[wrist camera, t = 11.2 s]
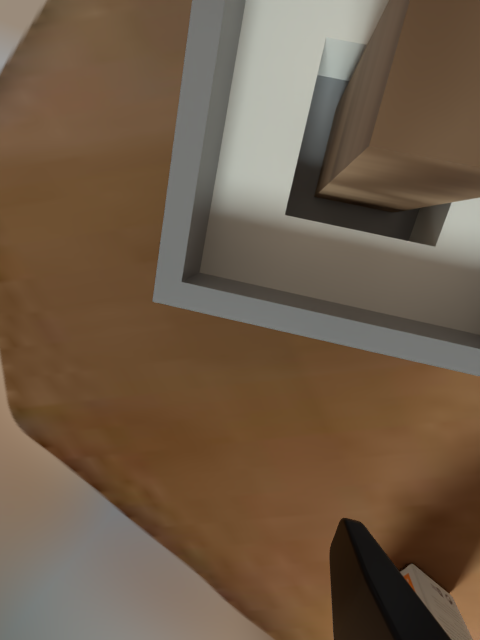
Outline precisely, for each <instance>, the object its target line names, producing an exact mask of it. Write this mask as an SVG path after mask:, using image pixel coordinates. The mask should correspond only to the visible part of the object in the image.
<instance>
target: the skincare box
mask: <svg viewBox="0 0 480 640" xmlns="http://www.w3.org/2000/svg"><path fill="white" fill-rule="evenodd" d="M400 573H401V574H402V575H403V577H404V578H405V579H406V581H407V582H408V583H409V585H410V586H411V587H412V588H413V590H414V591H415V592H416V594H417V595H418V596H419V598H420V599H421V600H422V602H423V603H424V604H425V605H426V607H427V608H428V609H429V611H430V612H431V613H432V615H433V616H434V617H435V619H436V620H437V621H438V622H439V624H440V625H441V626H442V628H443V629H444V630H445V632H446V633H447V634H448V635H449V637H450V638H451V639H452V640H473V639H472V637H471V635H470V633H469V631H468V629H467V627H466V624H465V622H464V620H463V618H462V616H461V614H460V612H459V610H458V608H457V606H456V603H455V601H454V599H453V597H452V596H451V595H450V594H449V593H448V592H446V591H445V590H444V589H443V588H442V587H440V586H439V585H438V584H437V583H435V582H434V581H433V580H432V579H431V578H429V577H428V576H427V575H426V574H425V573H423V572H422V571H421V570H420V569H419V568H417V567H416V566H415V565H414V564H410V565H409V566H407V567H406V568H405V569H404V570H402V571H400Z"/></svg>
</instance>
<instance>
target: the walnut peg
mask: <svg viewBox="0 0 480 640" xmlns="http://www.w3.org/2000/svg"><path fill="white" fill-rule="evenodd" d="M314 197H317V198H322V199H327V200H332V201H337V202H342V203H347V204H352V205H357V206H362V207H367V208H372V209H377V210H382V211H387V212H392V213H393V212H399V211H405V210H410V209H416V208H422V207H428V206H434V205H439V204H445V203H451V202H457V201H463V200H469V199H474V198H480V0H389V1H388V3H387V5H386V7H385V9H384V11H383V13H382V15H381V17H380V19H379V21H378V23H377V26H376V28H375V30H374V32H373V34H372V36H371V38H370V40H369V42H368V44H367V46H366V48H365V50H364V52H363V54H362V56H361V58H360V60H359V62H358V64H357V66H356V69H355V71H354V73H353V75H352V77H351V79H350V81H349V83H348V85H347V87H346V89H345V91H344V93H343V95H342V97H341V99H340V101H339V103H338V105H337V107H336V110H335V114H334V118H333V123H332V127H331V131H330V135H329V139H328V143H327V147H326V151H325V155H324V159H323V163H322V167H321V171H320V175H319V179H318V183H317V187H316V191H315V195H314Z"/></svg>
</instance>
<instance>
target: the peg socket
mask: <svg viewBox="0 0 480 640" xmlns="http://www.w3.org/2000/svg"><path fill="white" fill-rule="evenodd" d="M388 1H389V0H192V7H191V14H190V22H189V30H188V37H187V45H186V52H185V60H184V67H183V75H182V83H181V90H180V98H179V105H178V113H177V120H176V128H175V136H174V143H173V151H172V158H171V166H170V174H169V181H168V189H167V196H166V204H165V211H164V219H163V227H162V234H161V242H160V249H159V257H158V264H157V272H156V280H155V287H154V295H153V302H157V303H161V304H165V305H170V306H174V307H179V308H183V309H187V310H192V311H196V312H201V313H205V314H209V315H214V316H218V317H222V318H227V319H231V320H236V321H240V322H244V323H249V324H253V325H257V326H262V327H266V328H271V329H275V330H279V331H284V332H288V333H292V334H297V335H301V336H306V337H310V338H314V339H319V340H323V341H327V342H332V343H336V344H341V345H345V346H349V347H354V348H358V349H362V350H367V351H371V352H376V353H380V354H384V355H389V356H393V357H398V358H402V359H406V360H411V361H415V362H419V363H424V364H428V365H433V366H437V367H441V368H446V369H450V370H454V371H459V372H463V373H468V374H472V375H476V376H480V198H474V199H469V200H463V201H457V202H451V203H445V204H439V205H434V206H428V207H422V208H416V209H410V210H405V211H399V212H393V213H392V212H387V211H382V210H377V209H372V208H367V207H362V206H357V205H352V204H347V203H342V202H337V201H332V200H327V199H322V198H317V197H314V195H315V191H316V187H317V183H318V179H319V175H320V171H321V167H322V163H323V159H324V155H325V151H326V147H327V143H328V139H329V135H330V131H331V127H332V123H333V118H334V114H335V110H336V107H337V105H338V103H339V101H340V99H341V97H342V95H343V93H344V91H345V89H346V87H347V85H348V83H349V81H350V79H351V77H352V75H353V73H354V71H355V69H356V66H357V64H358V62H359V60H360V58H361V56H362V54H363V52H364V50H365V48H366V46H367V44H368V42H369V40H370V38H371V36H372V34H373V32H374V30H375V28H376V26H377V23H378V21H379V19H380V17H381V15H382V13H383V11H384V9H385V7H386V5H387V3H388Z"/></svg>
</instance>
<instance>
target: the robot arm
mask: <svg viewBox="0 0 480 640" xmlns="http://www.w3.org/2000/svg"><path fill="white" fill-rule="evenodd" d="M330 576H331V595H332V615H333V633H334V640H452V639H451V638H450V637H449V635H448V634H447V633H446V632H445V630H444V629H443V628H442V626H441V625H440V624H439V622H438V621H437V620H436V619H435V617H434V616H433V615H432V613H431V612H430V611H429V609H428V608H427V607H426V605H425V604H424V603H423V602H422V600H421V599H420V598H419V596H418V595H417V594H416V592H415V591H414V590H413V588H412V587H411V586H410V585H409V583H408V582H407V581H406V579H405V578H404V577H403V575H402V574H401V573H400V571H399V570H398V569H397V568H396V566H395V565H394V564H393V562H392V561H391V560H390V558H389V557H388V556H387V555H386V553H385V552H384V551H383V549H382V548H381V547H380V545H379V544H378V543H377V541H376V540H375V539H374V538H373V536H372V535H371V534H370V532H369V531H368V530H367V528H366V527H365V526H364V525H363V524H362V523H361V522H359V521H356V520H352V519H348V518H342V519H341V520H340V522H339V525H338V527H337V530H336V533H335V535H334V538H333V541H332V543H331V547H330Z"/></svg>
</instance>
